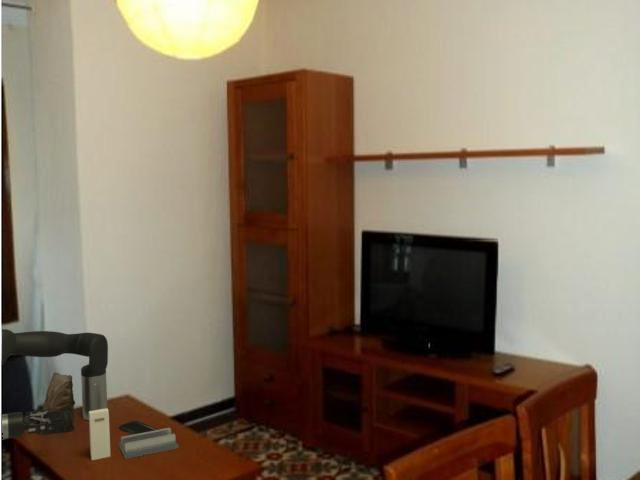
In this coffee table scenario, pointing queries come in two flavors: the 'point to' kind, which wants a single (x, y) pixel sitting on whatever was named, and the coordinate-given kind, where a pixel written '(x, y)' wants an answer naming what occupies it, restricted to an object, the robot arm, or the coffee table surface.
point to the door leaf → (99, 434)
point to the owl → (60, 402)
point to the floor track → (148, 443)
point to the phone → (136, 427)
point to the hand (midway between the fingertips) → (62, 417)
